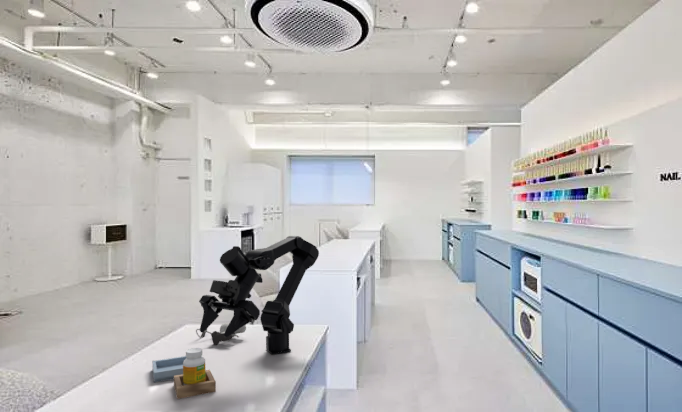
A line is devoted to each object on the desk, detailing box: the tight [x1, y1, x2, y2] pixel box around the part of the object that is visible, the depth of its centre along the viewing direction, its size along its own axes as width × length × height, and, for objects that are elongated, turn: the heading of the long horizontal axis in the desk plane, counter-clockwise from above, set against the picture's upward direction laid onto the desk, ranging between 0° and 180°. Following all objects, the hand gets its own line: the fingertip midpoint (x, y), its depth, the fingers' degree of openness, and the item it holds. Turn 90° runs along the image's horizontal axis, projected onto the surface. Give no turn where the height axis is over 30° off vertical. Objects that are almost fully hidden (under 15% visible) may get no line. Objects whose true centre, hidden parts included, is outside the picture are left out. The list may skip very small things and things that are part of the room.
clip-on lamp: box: [195, 322, 247, 346], centre depth 149 cm, size 12×6×18 cm
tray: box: [152, 355, 187, 383], centre depth 119 cm, size 12×10×2 cm
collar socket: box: [173, 369, 217, 400], centre depth 107 cm, size 9×9×2 cm
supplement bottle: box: [183, 347, 206, 386], centre depth 107 cm, size 5×5×10 cm
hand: (212, 334), depth 113 cm, fingers open, 9 cm apart
